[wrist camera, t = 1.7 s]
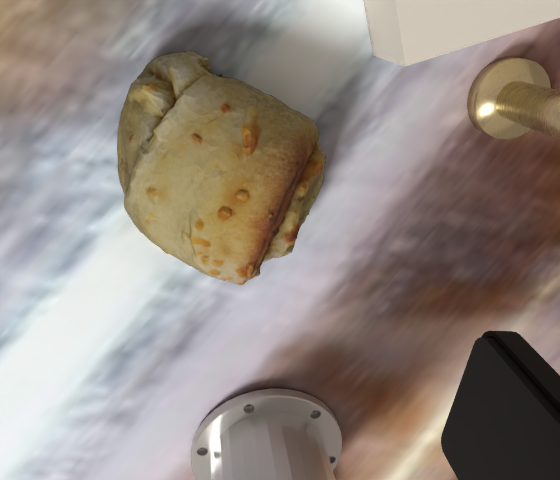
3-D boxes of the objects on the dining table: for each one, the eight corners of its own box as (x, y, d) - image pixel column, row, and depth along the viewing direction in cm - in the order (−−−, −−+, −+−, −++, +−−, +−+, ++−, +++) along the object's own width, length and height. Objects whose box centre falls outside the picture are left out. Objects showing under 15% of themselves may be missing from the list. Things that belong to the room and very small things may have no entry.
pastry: (327, 240, 36) (361, 298, 29) (152, 276, 36) (142, 346, 28) (302, 28, 30) (337, 37, 23) (89, 65, 29) (56, 86, 22)
